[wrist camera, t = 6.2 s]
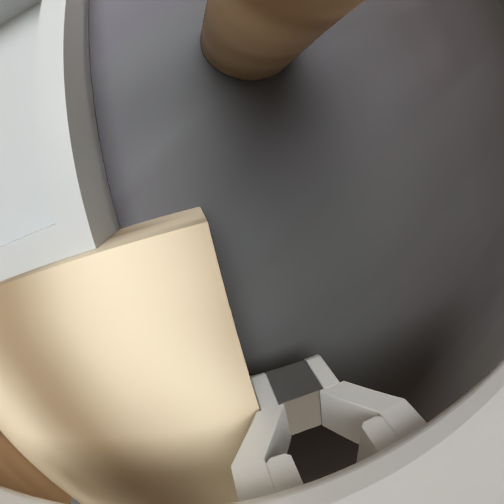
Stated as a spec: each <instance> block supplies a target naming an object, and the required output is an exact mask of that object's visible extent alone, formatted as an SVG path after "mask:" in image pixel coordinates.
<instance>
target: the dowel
mask: <svg viewBox="0 0 504 504" xmlns="http://www.w3.org/2000/svg"><path fill="white" fill-rule="evenodd" d="M363 1H365V0H207V4H206V9H205V14H204V20H203V25H202V31H201V37H200V43H201V49H202V52H203V54H204V56H205V57H206V59H207V60H208V62H209V63H210V64H211V65H212V66H213V67H215V68H216V69H217V70H219V71H220V72H222V73H224V74H226V75H228V76H230V77H233V78H237V79H242V80H262V79H266V78H270V77H272V76H274V75H276V74H278V73H280V72H281V71H282V70H283V69H284V68H285V67H286V66H287V65H289V64H290V63H291V62H292V61H293V60H294V59H295V58H296V57H297V56H298V55H299V54H300V53H301V52H303V51H304V50H305V49H306V48H307V47H308V46H309V45H310V44H311V43H313V42H314V41H315V40H316V39H317V38H318V37H320V36H321V35H322V34H323V33H324V32H325V31H327V30H328V29H329V28H330V27H331V26H333V25H334V24H335V23H336V22H337V21H339V20H340V19H341V18H342V17H344V16H345V15H346V14H348V13H349V12H350V11H351V10H353V9H354V8H355V7H357V6H358V5H359V4H361V3H362V2H363Z"/></svg>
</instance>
